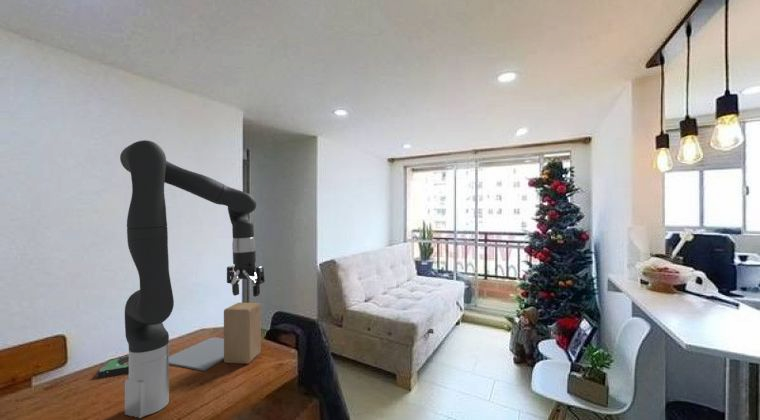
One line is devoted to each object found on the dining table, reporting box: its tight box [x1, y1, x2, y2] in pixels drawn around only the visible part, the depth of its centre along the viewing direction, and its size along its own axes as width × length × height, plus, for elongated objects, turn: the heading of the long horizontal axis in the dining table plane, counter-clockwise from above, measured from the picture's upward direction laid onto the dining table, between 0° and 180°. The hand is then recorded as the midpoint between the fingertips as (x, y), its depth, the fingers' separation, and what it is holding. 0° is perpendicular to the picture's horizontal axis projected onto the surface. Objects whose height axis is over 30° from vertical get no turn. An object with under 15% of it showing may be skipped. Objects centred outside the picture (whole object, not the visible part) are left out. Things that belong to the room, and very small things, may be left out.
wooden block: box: [223, 302, 262, 365], centre depth 119 cm, size 10×10×20 cm
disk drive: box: [96, 356, 129, 379], centre depth 113 cm, size 10×3×15 cm
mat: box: [169, 336, 224, 372], centre depth 125 cm, size 24×22×1 cm
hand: (246, 295), depth 111 cm, fingers open, 8 cm apart
